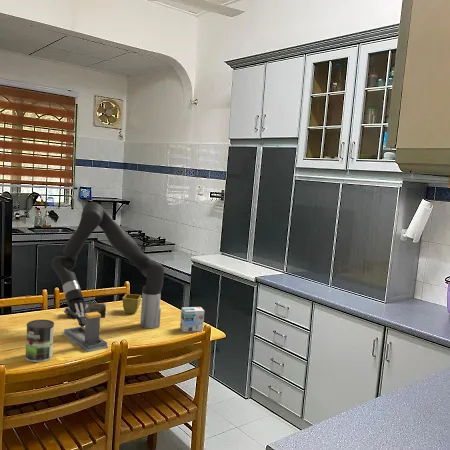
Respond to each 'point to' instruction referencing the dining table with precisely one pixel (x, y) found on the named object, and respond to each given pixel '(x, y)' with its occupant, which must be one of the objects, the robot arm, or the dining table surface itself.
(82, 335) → the fader console
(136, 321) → the dining table surface
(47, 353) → the coffee can
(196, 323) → the light bulb box
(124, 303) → the flower pot
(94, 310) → the beverage carton
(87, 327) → the fader tab
